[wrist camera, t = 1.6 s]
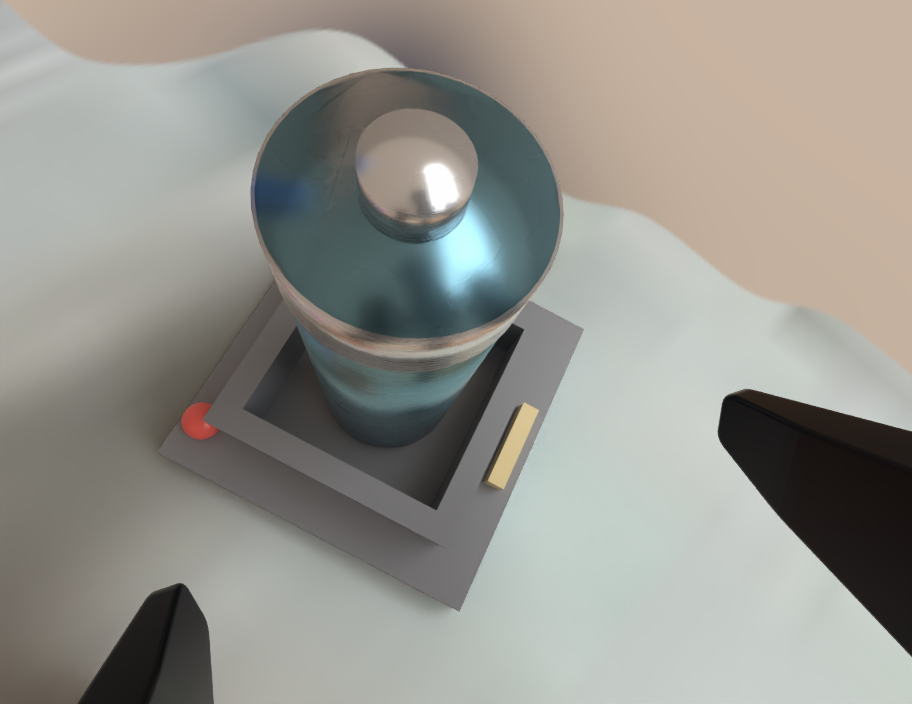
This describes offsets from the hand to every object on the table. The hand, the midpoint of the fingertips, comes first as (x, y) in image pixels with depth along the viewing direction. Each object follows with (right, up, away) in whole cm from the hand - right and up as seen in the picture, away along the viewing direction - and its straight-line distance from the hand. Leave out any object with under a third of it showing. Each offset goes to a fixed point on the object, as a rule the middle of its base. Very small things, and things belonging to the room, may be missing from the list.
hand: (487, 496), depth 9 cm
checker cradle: (-3, +1, +12) cm, 12 cm away
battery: (-3, +1, +11) cm, 11 cm away
